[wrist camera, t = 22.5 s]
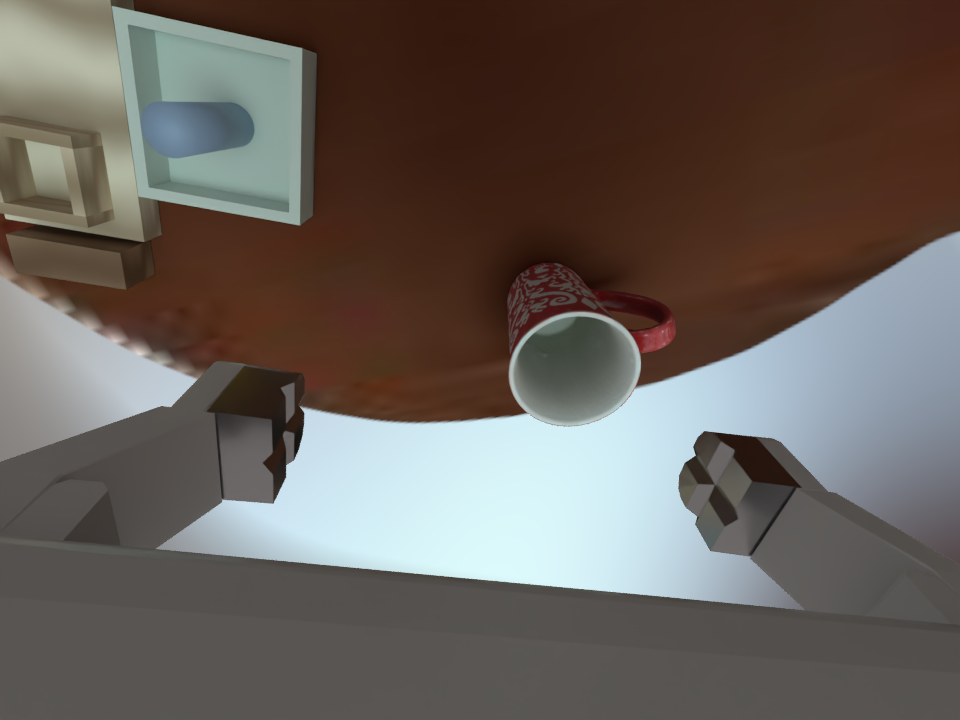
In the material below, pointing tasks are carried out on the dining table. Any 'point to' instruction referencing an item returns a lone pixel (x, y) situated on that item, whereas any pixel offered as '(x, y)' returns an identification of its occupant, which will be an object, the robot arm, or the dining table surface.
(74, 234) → the block
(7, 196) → the board
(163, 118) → the dowel
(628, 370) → the mug
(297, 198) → the tray
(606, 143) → the dining table surface
